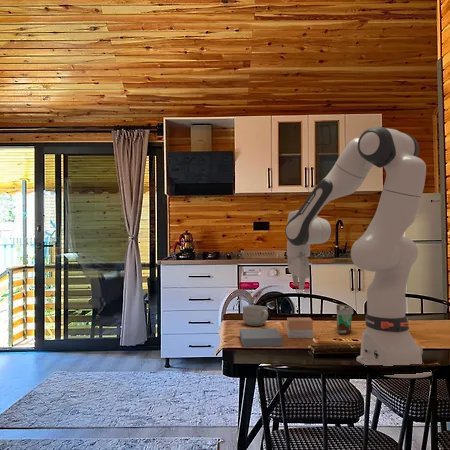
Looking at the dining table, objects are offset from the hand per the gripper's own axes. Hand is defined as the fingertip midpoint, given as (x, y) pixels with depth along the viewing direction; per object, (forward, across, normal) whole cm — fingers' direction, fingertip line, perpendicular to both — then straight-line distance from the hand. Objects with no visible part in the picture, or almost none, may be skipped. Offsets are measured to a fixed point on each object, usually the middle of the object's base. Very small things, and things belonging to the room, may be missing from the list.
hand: (298, 287), depth 155 cm
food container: (+19, +4, -20) cm, 28 cm away
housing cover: (+16, -1, 0) cm, 16 cm away
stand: (+19, -6, +16) cm, 25 cm away
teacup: (+19, +18, +14) cm, 30 cm away
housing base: (+19, -1, 0) cm, 19 cm away
